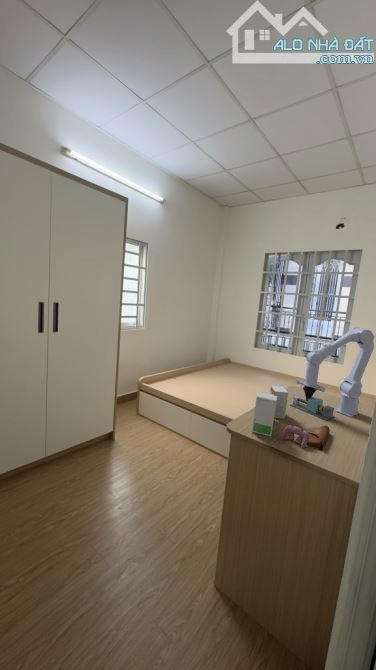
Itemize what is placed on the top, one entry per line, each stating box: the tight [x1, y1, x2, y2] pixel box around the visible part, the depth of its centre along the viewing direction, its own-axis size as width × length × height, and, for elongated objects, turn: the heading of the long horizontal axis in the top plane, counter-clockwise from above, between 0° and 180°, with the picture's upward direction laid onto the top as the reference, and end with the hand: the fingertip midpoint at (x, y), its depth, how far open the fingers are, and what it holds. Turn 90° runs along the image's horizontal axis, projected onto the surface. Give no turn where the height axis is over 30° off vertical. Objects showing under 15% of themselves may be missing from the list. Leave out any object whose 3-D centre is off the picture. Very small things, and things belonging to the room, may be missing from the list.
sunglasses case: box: [300, 425, 331, 452], centre depth 114 cm, size 18×7×7 cm, turn 146°
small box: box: [269, 385, 289, 419], centre depth 134 cm, size 8×6×13 cm
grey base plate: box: [289, 401, 336, 421], centre depth 142 cm, size 8×20×1 cm, turn 36°
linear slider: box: [292, 396, 335, 420], centre depth 142 cm, size 4×20×5 cm, turn 35°
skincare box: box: [251, 391, 277, 438], centre depth 116 cm, size 8×7×16 cm
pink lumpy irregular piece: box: [280, 425, 309, 449], centre depth 110 cm, size 10×5×7 cm, turn 46°
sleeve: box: [306, 396, 324, 413], centre depth 141 cm, size 6×5×6 cm
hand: (308, 400), depth 144 cm, fingers closed
